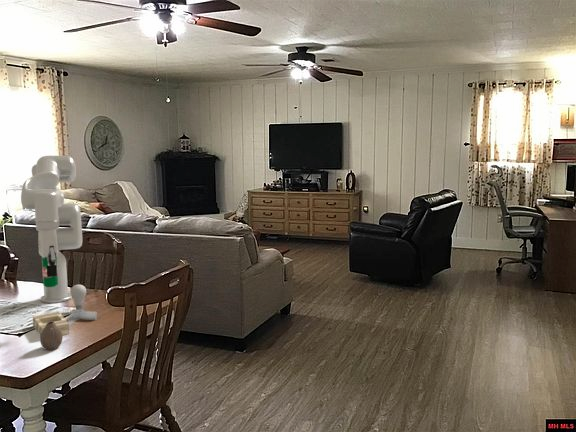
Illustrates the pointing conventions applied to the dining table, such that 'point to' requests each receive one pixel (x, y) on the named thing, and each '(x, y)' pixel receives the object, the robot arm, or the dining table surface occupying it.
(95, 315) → the grey angled tube
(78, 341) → the dining table surface
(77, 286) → the lightbulb
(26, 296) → the dining table surface
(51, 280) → the soda can
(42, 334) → the brown egg-shaped piece
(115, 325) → the dining table surface
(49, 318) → the bore beam
